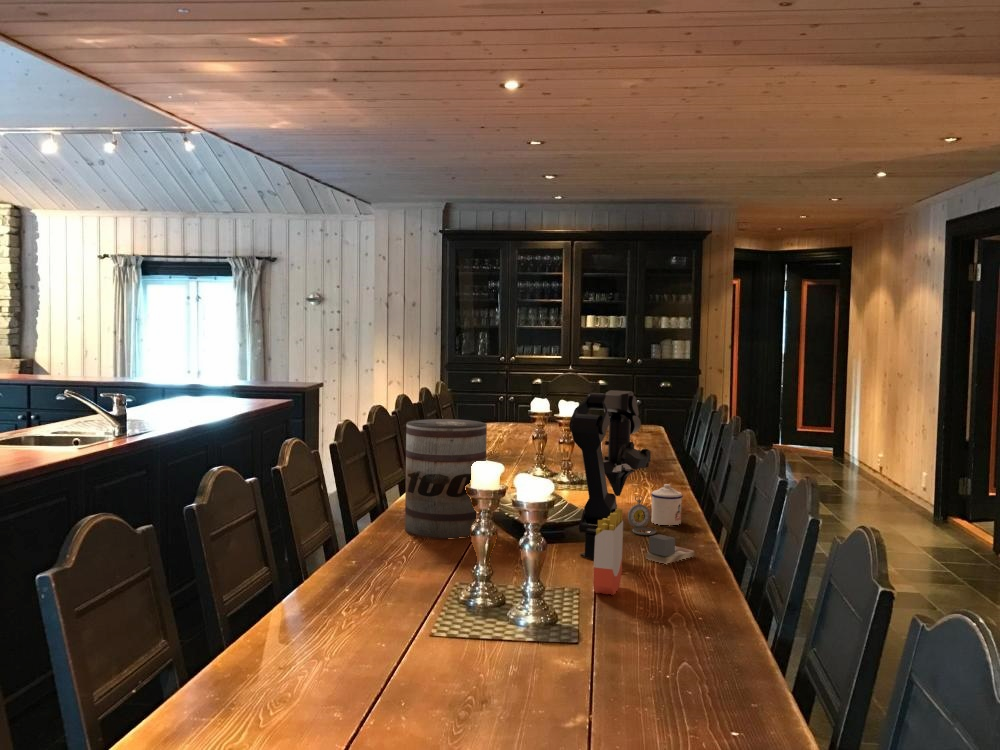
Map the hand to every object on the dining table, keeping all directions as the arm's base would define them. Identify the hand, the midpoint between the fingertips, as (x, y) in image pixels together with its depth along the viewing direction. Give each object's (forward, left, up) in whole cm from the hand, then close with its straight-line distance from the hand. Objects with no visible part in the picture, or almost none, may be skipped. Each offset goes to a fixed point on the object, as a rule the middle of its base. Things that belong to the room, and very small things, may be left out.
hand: (617, 495), depth 236 cm
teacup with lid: (+32, +8, -13) cm, 35 cm away
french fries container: (-33, -26, -13) cm, 44 cm away
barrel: (-27, +40, -13) cm, 50 cm away
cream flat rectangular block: (0, -18, -13) cm, 22 cm away
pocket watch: (+16, +4, -13) cm, 21 cm away
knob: (-4, -18, -11) cm, 21 cm away
